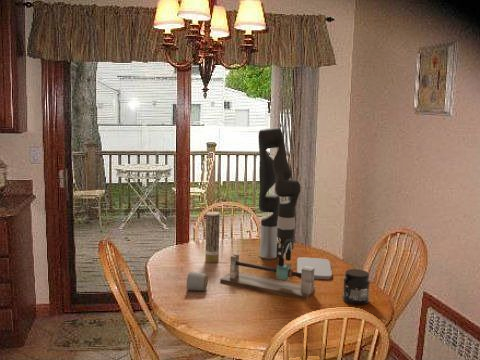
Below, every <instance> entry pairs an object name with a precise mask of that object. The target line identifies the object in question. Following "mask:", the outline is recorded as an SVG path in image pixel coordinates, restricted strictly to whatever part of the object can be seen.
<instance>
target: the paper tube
mask: <svg viewBox="0 0 480 360" xmlns="http://www.w3.org/2000/svg"><path fill="white" fill-rule="evenodd" d="M220 220H221V219H220V212H219V211H207V212H206V213H205V258H204V259H205V261H206V262H207V263H211V264H212V263H218V262H219V259H220V257H219V255H220Z"/></svg>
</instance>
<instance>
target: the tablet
mask: <svg viewBox="0 0 480 360" xmlns="http://www.w3.org/2000/svg"><path fill="white" fill-rule="evenodd" d="M296 261H297V262H296V272H297V273H302V269H303V268H304V267H305V266H309V267H314V268H315V270H314V280H316V279H317V280H330V279H331V278H332V277H333V272H332V266H331V262H330V259H326V258H319V257H306V256H303V257H300V256H299V257H297V259H296Z"/></svg>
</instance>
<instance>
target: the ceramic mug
mask: <svg viewBox="0 0 480 360" xmlns="http://www.w3.org/2000/svg"><path fill="white" fill-rule="evenodd" d="M208 282H209V276H208V274H205V273H201V272H194V271H189V272H188V274H187V278H186V290H187V291H193V292H194V291H197V292H203V291H206V290H207V287H208Z"/></svg>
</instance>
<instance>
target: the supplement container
mask: <svg viewBox="0 0 480 360" xmlns="http://www.w3.org/2000/svg"><path fill="white" fill-rule="evenodd" d="M344 276H345V277H344V278H343V279H342V280H343V284H342V285H343V286H342V288H343V289H342V300H343V301H344V302H345V303H347V304H350V305H354V306H363V305H366V304H368V303H369V301H370V297H369V296H370V285H371V282H370V273H369V272H368V271H366V270H364V269H358V268H351V269H350V268H349V269H347V270H345V272H344Z"/></svg>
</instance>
